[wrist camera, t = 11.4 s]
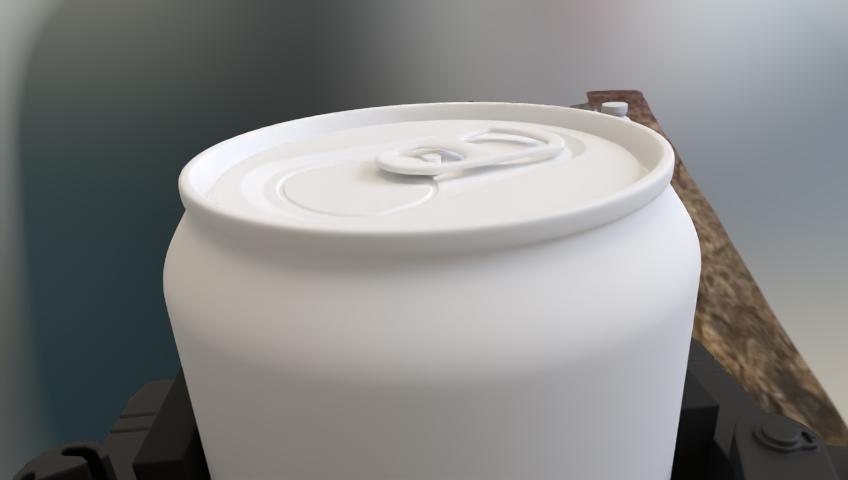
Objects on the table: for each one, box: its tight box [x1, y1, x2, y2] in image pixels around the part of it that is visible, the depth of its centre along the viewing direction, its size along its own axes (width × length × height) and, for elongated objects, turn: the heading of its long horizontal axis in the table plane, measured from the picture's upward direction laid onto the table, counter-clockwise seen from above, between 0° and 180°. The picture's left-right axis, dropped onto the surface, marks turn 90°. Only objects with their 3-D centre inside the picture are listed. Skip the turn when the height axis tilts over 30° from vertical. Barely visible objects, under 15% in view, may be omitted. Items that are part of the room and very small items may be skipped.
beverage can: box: [163, 102, 701, 480], centre depth 11 cm, size 8×8×12 cm
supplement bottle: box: [601, 102, 630, 121], centre depth 96 cm, size 5×5×10 cm
